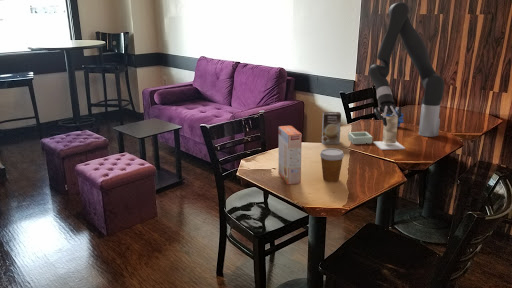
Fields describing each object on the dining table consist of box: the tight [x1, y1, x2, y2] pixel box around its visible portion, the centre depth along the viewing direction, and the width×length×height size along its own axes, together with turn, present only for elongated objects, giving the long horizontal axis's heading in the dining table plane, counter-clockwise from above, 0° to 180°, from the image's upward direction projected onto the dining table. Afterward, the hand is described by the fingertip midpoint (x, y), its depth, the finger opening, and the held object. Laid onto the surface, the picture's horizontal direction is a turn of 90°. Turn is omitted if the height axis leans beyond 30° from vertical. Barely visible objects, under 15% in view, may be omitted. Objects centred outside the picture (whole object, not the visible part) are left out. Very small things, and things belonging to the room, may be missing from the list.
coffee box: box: [321, 111, 342, 145], centre depth 206 cm, size 9×6×16 cm
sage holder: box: [347, 131, 373, 145], centre depth 209 cm, size 10×10×4 cm
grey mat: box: [372, 140, 406, 151], centre depth 200 cm, size 12×12×1 cm
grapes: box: [386, 109, 404, 127], centre depth 235 cm, size 12×7×12 cm, turn 47°
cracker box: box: [277, 125, 303, 185], centre depth 160 cm, size 14×6×21 cm, turn 12°
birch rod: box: [382, 116, 398, 144], centre depth 198 cm, size 5×5×13 cm
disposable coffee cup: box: [319, 147, 345, 183], centre depth 158 cm, size 10×10×12 cm
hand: (391, 125), depth 196 cm, fingers closed on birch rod, 5 cm apart
